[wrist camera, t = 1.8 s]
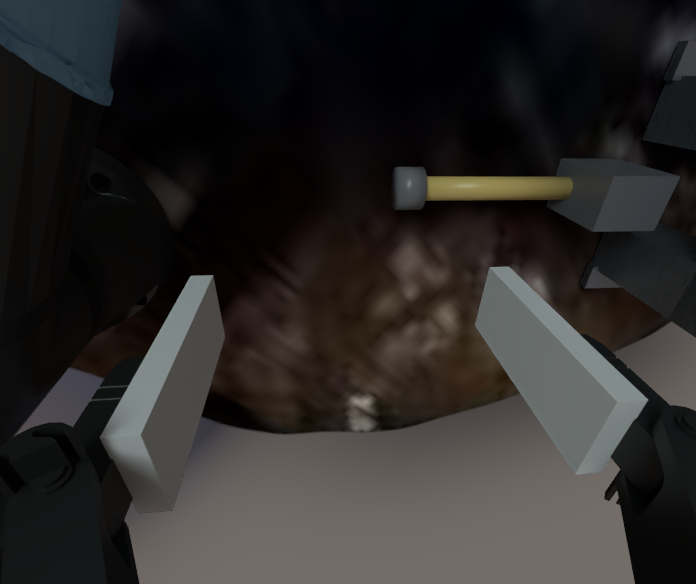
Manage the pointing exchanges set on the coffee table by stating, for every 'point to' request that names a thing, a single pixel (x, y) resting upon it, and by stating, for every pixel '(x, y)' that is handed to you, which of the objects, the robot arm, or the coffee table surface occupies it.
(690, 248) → the housing
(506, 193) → the yellow handled grey mallet
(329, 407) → the coffee table surface
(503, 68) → the coffee table surface
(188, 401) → the robot arm
